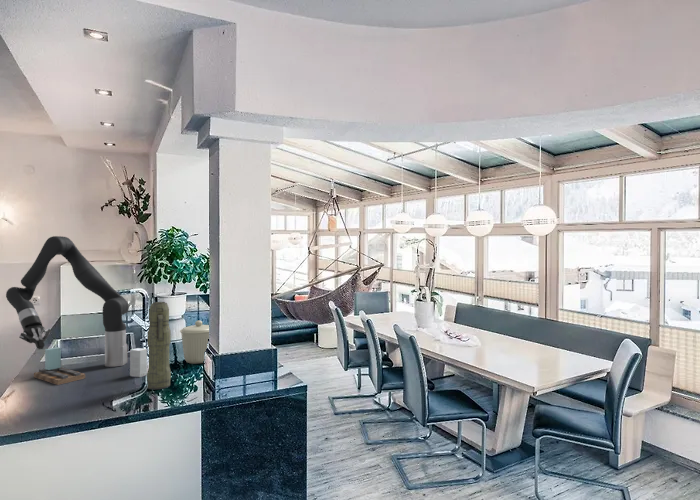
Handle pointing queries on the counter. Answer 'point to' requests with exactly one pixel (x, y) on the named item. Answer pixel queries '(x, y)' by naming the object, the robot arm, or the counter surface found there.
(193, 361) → the canister
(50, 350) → the fader tab
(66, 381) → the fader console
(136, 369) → the skincare box
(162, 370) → the thermos
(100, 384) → the counter surface
